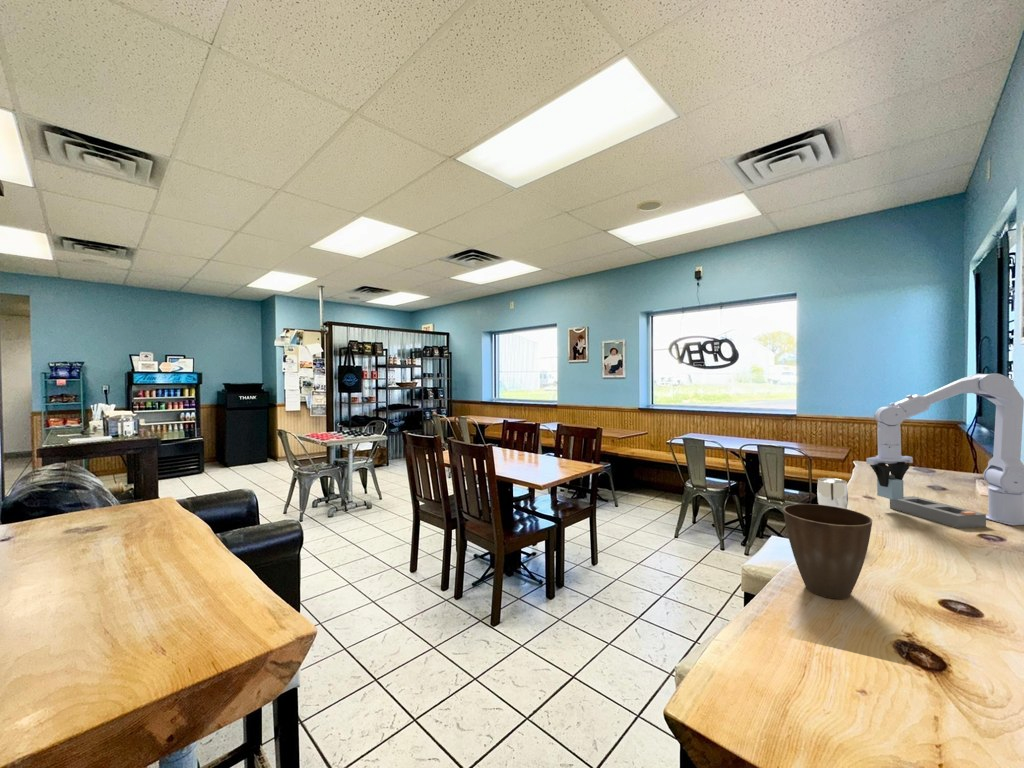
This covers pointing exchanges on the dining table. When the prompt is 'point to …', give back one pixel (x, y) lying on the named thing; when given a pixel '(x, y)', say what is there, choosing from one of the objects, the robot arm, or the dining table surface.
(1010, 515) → the robot arm
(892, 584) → the dining table surface
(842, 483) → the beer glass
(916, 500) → the grey slotted tray
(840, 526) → the plant pot
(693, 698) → the dining table surface
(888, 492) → the plug
